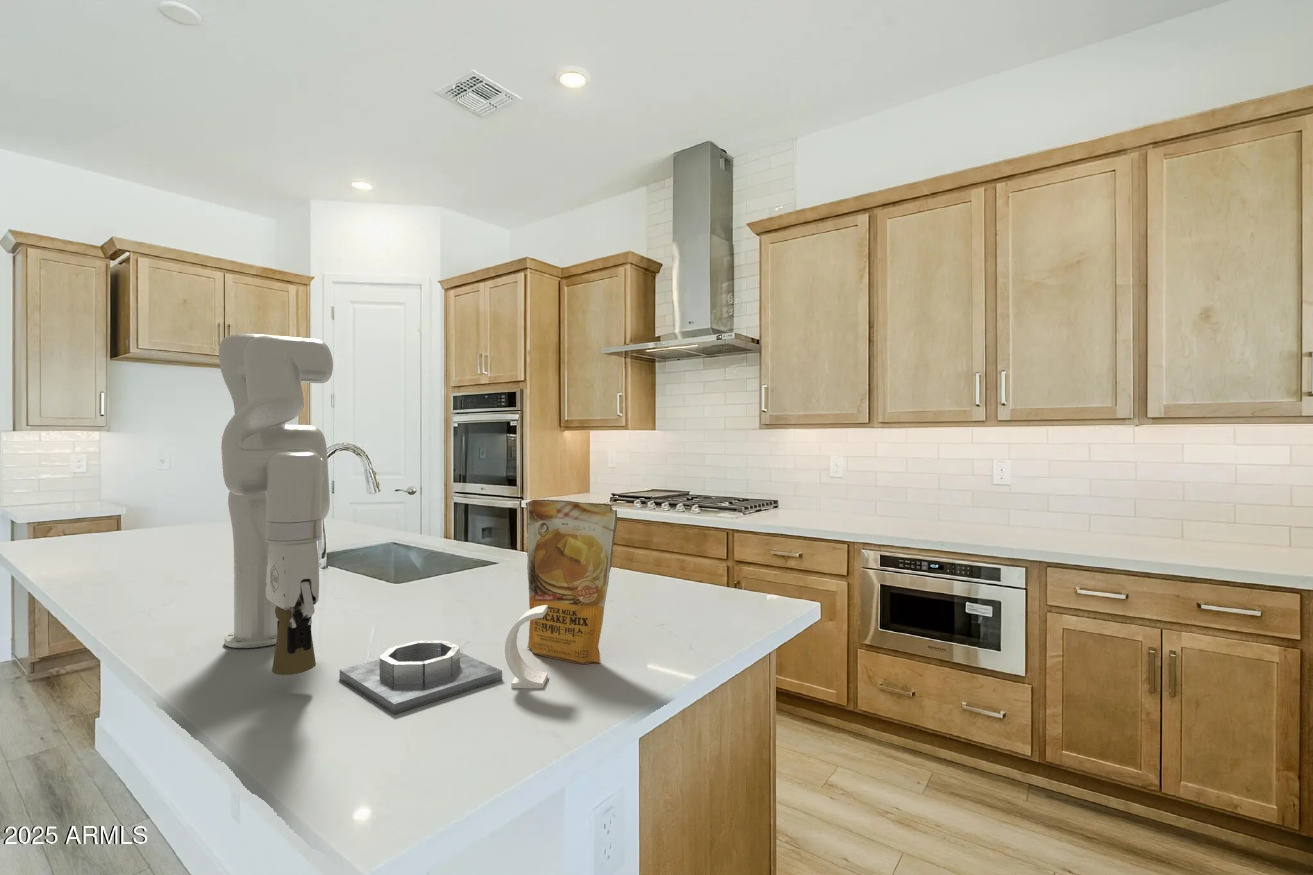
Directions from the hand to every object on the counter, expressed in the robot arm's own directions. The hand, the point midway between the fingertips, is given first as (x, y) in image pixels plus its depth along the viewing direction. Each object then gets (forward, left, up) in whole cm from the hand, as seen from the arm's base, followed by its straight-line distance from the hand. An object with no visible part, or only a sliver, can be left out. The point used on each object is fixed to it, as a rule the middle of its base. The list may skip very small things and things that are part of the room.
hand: (294, 646), depth 101 cm
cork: (0, 0, -3) cm, 3 cm away
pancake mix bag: (+18, +40, -7) cm, 44 cm away
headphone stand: (+24, +27, -7) cm, 37 cm away
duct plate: (+10, +16, -7) cm, 20 cm away
